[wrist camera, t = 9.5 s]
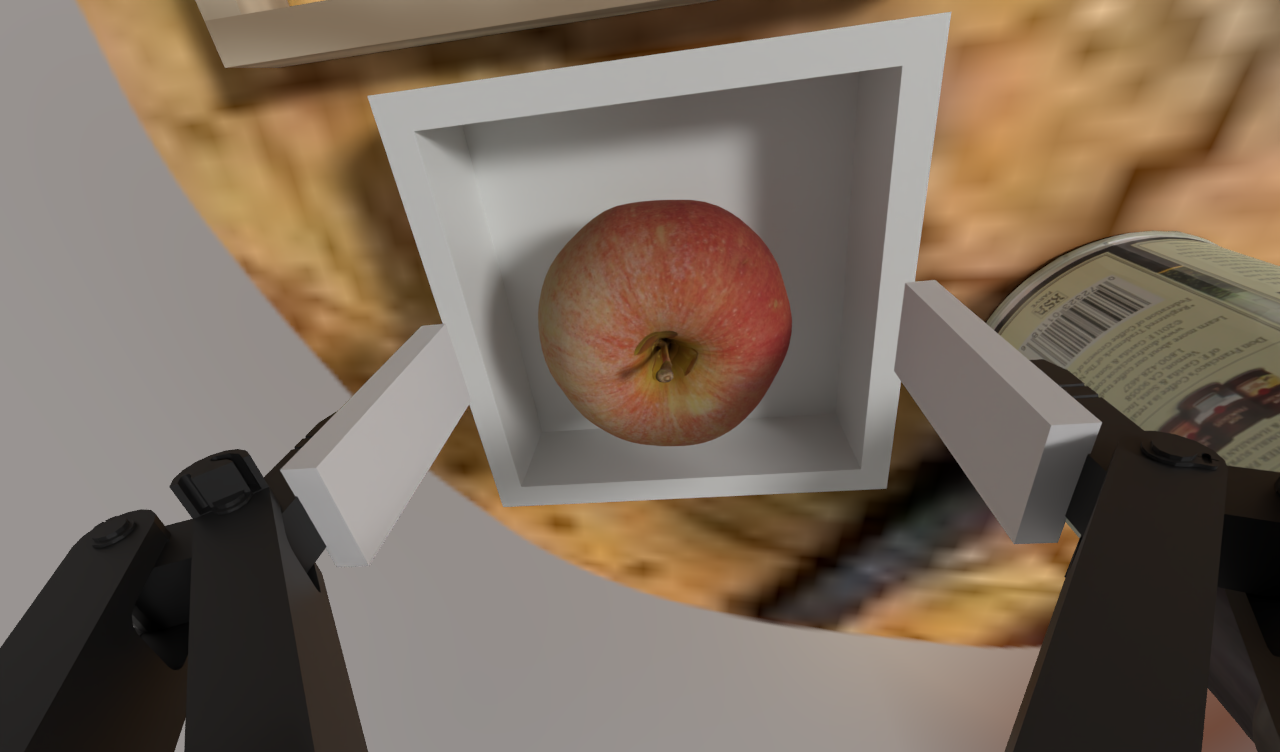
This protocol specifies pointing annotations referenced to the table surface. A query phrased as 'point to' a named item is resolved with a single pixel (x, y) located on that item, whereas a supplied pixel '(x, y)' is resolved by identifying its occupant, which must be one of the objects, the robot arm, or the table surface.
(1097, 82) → the table surface
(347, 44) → the corral
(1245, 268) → the coffee can
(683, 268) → the apple
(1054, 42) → the table surface
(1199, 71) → the table surface
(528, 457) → the bin
